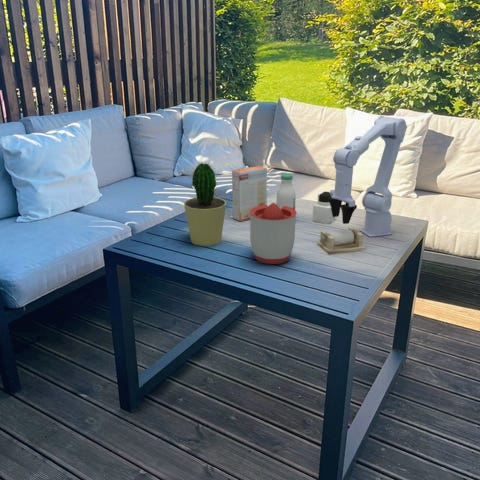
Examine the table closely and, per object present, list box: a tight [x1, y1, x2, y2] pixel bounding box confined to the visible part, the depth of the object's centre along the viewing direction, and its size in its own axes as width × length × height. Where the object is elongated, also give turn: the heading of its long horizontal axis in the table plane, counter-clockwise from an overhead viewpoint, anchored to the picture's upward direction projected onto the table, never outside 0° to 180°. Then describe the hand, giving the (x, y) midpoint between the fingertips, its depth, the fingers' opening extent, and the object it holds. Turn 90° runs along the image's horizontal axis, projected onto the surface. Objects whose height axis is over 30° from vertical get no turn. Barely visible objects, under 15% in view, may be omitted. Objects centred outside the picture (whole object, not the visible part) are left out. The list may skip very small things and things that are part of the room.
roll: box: [328, 229, 354, 246], centre depth 183 cm, size 8×5×5 cm, turn 108°
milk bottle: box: [275, 173, 296, 210], centre depth 205 cm, size 8×8×20 cm
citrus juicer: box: [249, 202, 298, 265], centre depth 172 cm, size 16×17×20 cm
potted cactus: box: [183, 162, 227, 247], centre depth 185 cm, size 15×15×30 cm
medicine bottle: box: [312, 191, 336, 225], centre depth 209 cm, size 7×7×12 cm
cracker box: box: [231, 165, 268, 222], centre depth 211 cm, size 14×6×21 cm, turn 124°
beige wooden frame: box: [316, 226, 366, 255], centre depth 183 cm, size 10×14×6 cm
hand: (340, 219), depth 182 cm, fingers open, 7 cm apart
